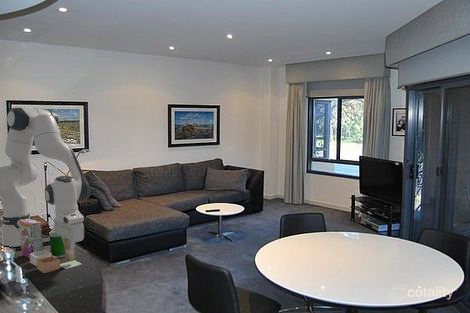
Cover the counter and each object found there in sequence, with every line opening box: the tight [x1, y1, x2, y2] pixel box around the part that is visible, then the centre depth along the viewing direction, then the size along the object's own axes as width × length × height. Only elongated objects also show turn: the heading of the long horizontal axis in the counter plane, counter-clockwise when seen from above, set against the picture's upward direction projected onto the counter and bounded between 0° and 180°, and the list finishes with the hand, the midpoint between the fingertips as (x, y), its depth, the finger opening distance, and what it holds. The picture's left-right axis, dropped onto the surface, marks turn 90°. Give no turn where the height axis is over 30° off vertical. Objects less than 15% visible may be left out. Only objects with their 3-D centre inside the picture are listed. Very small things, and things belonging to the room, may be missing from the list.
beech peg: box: [64, 237, 76, 263], centre depth 170 cm, size 4×4×10 cm
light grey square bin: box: [29, 249, 52, 267], centre depth 174 cm, size 7×7×4 cm
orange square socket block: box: [36, 256, 61, 274], centre depth 166 cm, size 7×7×4 cm
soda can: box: [48, 229, 65, 259], centre depth 181 cm, size 8×8×12 cm
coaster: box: [60, 260, 82, 270], centre depth 171 cm, size 7×7×1 cm
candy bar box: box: [19, 218, 44, 259], centre depth 182 cm, size 11×5×16 cm, turn 53°
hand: (69, 247), depth 170 cm, fingers closed on beech peg, 4 cm apart
